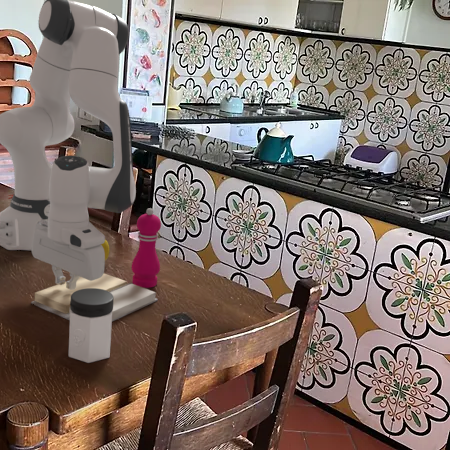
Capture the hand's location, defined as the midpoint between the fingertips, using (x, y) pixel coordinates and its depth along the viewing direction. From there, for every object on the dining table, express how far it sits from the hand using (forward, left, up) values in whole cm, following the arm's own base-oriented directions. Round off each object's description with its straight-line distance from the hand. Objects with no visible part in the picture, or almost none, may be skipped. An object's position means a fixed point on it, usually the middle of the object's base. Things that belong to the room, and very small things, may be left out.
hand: (65, 286), depth 143 cm
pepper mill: (+6, +21, -4) cm, 23 cm away
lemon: (-11, +22, -4) cm, 25 cm away
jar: (+21, -14, -4) cm, 25 cm away
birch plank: (+1, +4, -3) cm, 6 cm away
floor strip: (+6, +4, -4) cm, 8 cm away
